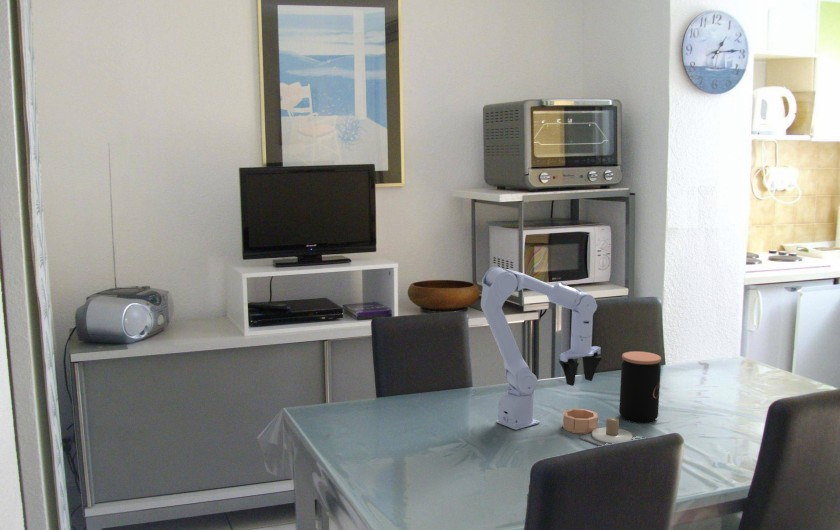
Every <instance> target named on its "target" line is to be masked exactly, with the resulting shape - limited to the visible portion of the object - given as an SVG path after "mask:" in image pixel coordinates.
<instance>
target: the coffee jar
mask: <svg viewBox="0 0 840 530" xmlns="http://www.w3.org/2000/svg"><path fill="white" fill-rule="evenodd" d="M621 358H622V360H623V361H622V362H621V370H620V387H619V388H620V390H619V392H620V393H619V409H618V412H619V415H620V417H621V418H622V419H623V420H624V419H625V421H626V420H627V422H629V421H630V423H633V422H636V424H651V423H654V422H655V421H656V419H658V417H659V408H660V407H659V405H660V387H661V370H662V368H661V367H662V366H661V364H660V363H661V362H662V357H661V355H658V354H656V353H653V352H649V351H648V352H647V351H639V350H638V351H635V350H634V351H627V352H624V353H622V355H621Z"/></svg>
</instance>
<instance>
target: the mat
mask: <svg viewBox="0 0 840 530" xmlns="http://www.w3.org/2000/svg"><path fill="white" fill-rule="evenodd" d="M619 429H622V428H620V427H619ZM627 431H628V432H630V433H631V434H632V438H633V437H636V436H641V434H638V433H634V432H632V431H630V430H627ZM642 438H645V436H643V437H642ZM578 439H580V440H582V441H585V442H587V441H588V443H590V444H593V445H595V446H597V447H600V446H602V445H605V444H606V443H604V442H600V441H598V440H595V439H594V438H593V437H592V433H590V434H582V435H580V436H578ZM635 439H640V438H635ZM632 440H633V439H632ZM608 444H610V443H608Z"/></svg>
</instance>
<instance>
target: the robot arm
mask: <svg viewBox="0 0 840 530" xmlns="http://www.w3.org/2000/svg"><path fill="white" fill-rule="evenodd" d="M481 284H482V290H481V299H480V308H481V310H482V313H483V315H484V317H485V319H486V321H487V324H488V326H489V328H490V331H491V333H492V336H493V338H494V341H495V343H496V346H497V348H498V350H499V353H500V355H501V357H502V359H503V367H504V372H505V373H504V378H505V380H506V382H507V383H508V387H507V391H506V393H505V394H503V395H502V396H500V398H499V400H498V418H497V419H496V423H498V424H500V425H502V426H505V427H508V428H510V429H513V430H514V431H515V430H520V429H524V428H527V427H531V426H534V425H537V424H540V420H538V419H535V418H534V406H535V405H534V404H535V403H534V401H535V400H534V399H535V391H536V390H537V388H538V383H539V382H538V378H537V376H536V375H535V374H534V373H533V372H532V371H531V370H530V367H529V365H528V364H527V363H526V361H525V360H524V358H523V356H522V353H521V351H520V349H519V347H518V344H517V341H516V339H515V337H514V333H513V332H512V330H511V327H510V325H509V322H508V320H507V318H506V315H505V313H504V311H503V306H504V304H505V302H506V300H507V299H509V298H510V297H511V295H512V294H514V292H515V290H516V291H517V292H518V291H521V290H523V289H527V290H530V291H533V292H536V293H538V294H542V295H545V296H546V297H547V299H548V301H549V302H550V303H552V304H554V305H555V304H556V305H558V306H560V307H563V308H566V309H568V310H571V324H570V325H571V330H570V349H568V350H566V351H564V352H562V353H560V354H559V356H560V357H559V359H558V361H559V362H558V363H559V365H560V366H561V368H562V370H563V373H564V376H565V382H566V385H568V386H570V387H571V386H572V387H573V386H575V382H576V374H577V369H578V368H579V364H580V363H579V362H576V361H575V360H576V359H579V358H582V360H583V365H584V366H583V367H584V379H585V380H586V381H589V382H592V381H593V378H594V375H595V373H596V370H597V368H598V365H599V364H600V362H601V360H602V356H601V349H602V348H601V346H596V345H593V344H592V341H593V322H594V319H593V318H594V313H595V312H596V311H597V309H598V303H597V301H596V298H594V296H593V295H591V294H588V293H586V292H584V291H583V290H582V289H580V288H579V287H577V288H576V289H575V288H573V287H571V286H568V285H567V283H566V282H564V281H561V282H555V283H552V284H549V283H547V282H545V281H542V280H539V278H538V279H537V278H535V277H532V276H530V275H527V274H526V273H522V272H520V271H516V270H512V269H507V268H505V269H504V268H502V267H500V266H492V267H489V269H487V270H486V272H485V274H484V275H483V277H482V279H481ZM592 345H593V346H592Z"/></svg>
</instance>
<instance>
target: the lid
mask: <svg viewBox="0 0 840 530" xmlns="http://www.w3.org/2000/svg"><path fill="white" fill-rule="evenodd" d="M605 419H606V426H604V427H597V429H594V430H593V431H592V437H593V438H594V439H595V440H598V441H600V442H604V443H610V444H612V443H618V442H623V441H629V440H632V434H631V433H630V432H631V431H629V430H627V429H623V428H621V429H619V428H620V425H619V424H620V419H619V418H617V417H613V416H612V417H611V416H610V417H606V418H605ZM628 431H629V432H628Z"/></svg>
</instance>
